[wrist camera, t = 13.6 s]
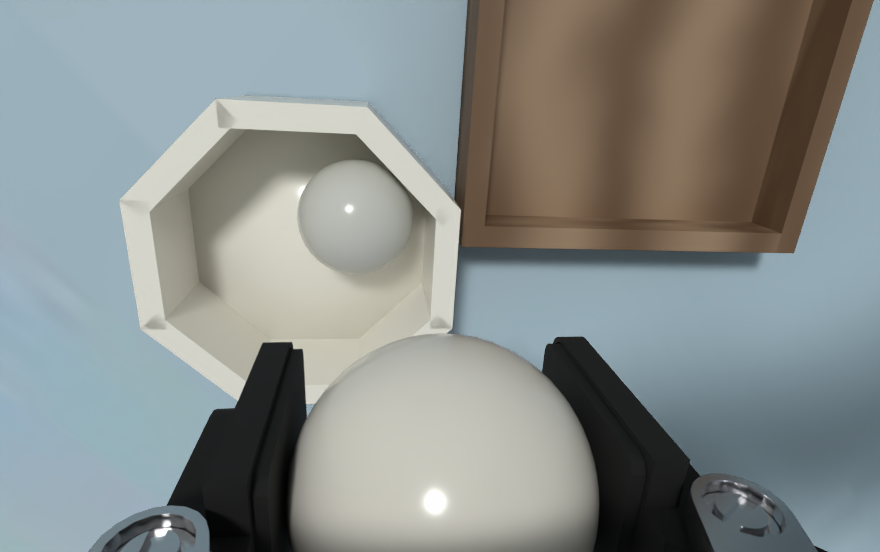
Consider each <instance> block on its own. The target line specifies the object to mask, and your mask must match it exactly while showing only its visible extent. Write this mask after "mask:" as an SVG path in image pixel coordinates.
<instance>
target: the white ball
mask: <svg viewBox="0 0 880 552" xmlns="http://www.w3.org/2000/svg"><path fill="white" fill-rule="evenodd" d="M297 221H298V228H299V232H300V235H301V238H302V240H303V242H304V244H305V246H306V247H307V249H308V250H309V251H310V253H311V254H312V255H313V256H314V257H315V258H316V259H317V260H318V261H319V262H321V263H322V264H324V265H325V266H326V267H328V268H330V269H332V270H335V271H337V272H341V273H345V274H352V275H360V274H367V273H372V272H375V271H378V270H380V269H383V268H384V267H386V266H388V265H389V264H391V263H392V262H393V261H394V260H395V259H396V258H397V257H398V256H399V255H400V254H401V253H402V252H403V250H404V249H405V247H406V245H407V243H408V241H409V239H410V236H411V233H412V228H413V208H412V204H411V200H410V197H409V195H408V193H407V191H406V189H405V187H404V186H403V184H402V183H401V182H400V180H399V179H398V178H397V177H396V176H395V175H394V174H393V173H391V172H390V171H389V170H387V169H386V168H384V167H382V166H380V165H378V164H376V163H373V162H370V161H366V160H358V159H350V160H343V161H338V162H335V163H333V164H330V165H328V166H326V167H325V168H323V169H322V170H320V171H319V172H317V173H316V174H315V175H314V176H313V177H312V178H311V180H310V181H309V182H308V183H307V185H306V186H305V188H304V190H303V192H302V194H301V197H300V200H299V204H298V210H297Z"/></svg>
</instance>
